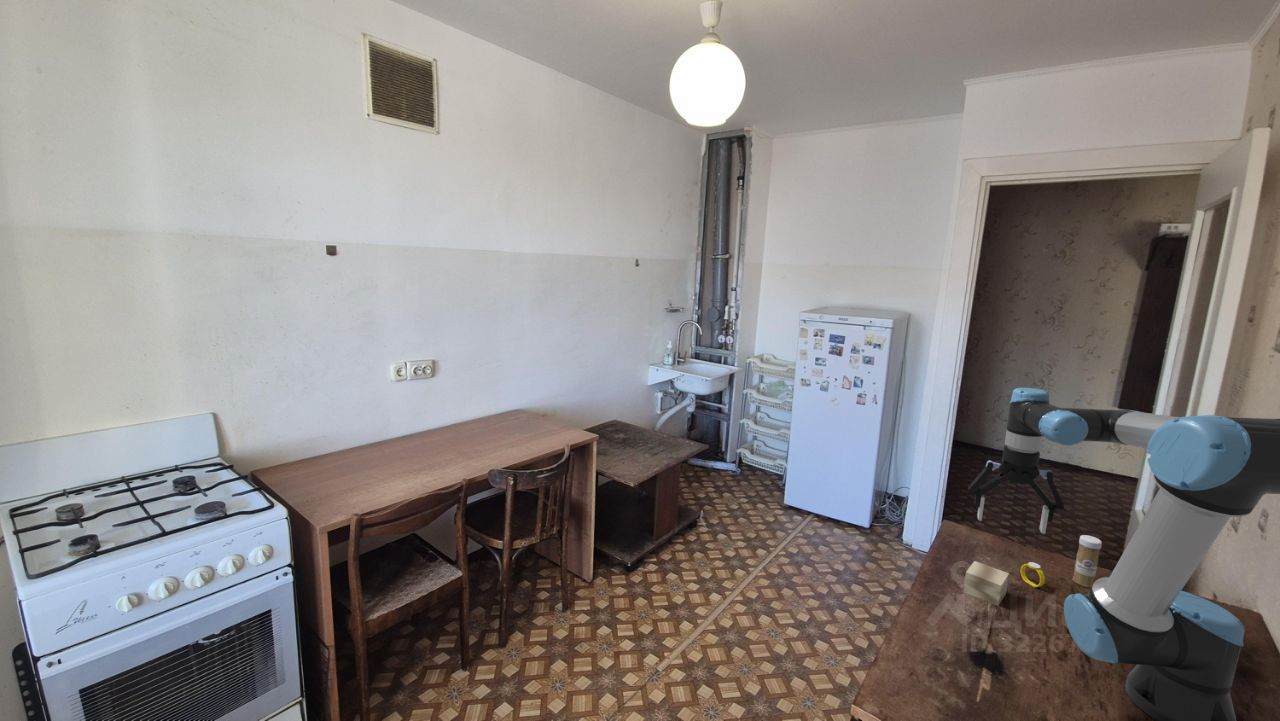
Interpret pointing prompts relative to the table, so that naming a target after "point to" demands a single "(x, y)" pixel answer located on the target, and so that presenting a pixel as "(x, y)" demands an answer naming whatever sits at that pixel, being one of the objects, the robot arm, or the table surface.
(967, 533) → the table surface
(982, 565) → the maple block
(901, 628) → the table surface
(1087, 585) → the sprinkles bottle
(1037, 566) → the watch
